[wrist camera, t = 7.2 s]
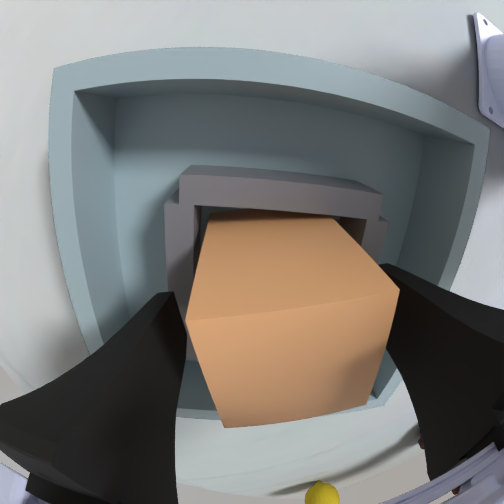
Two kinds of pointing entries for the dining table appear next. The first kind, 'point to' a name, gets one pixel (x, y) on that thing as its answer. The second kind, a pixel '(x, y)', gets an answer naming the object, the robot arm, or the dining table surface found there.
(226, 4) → the dining table surface
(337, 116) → the socket box
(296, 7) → the dining table surface
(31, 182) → the dining table surface
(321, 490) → the lemon
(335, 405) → the plug
